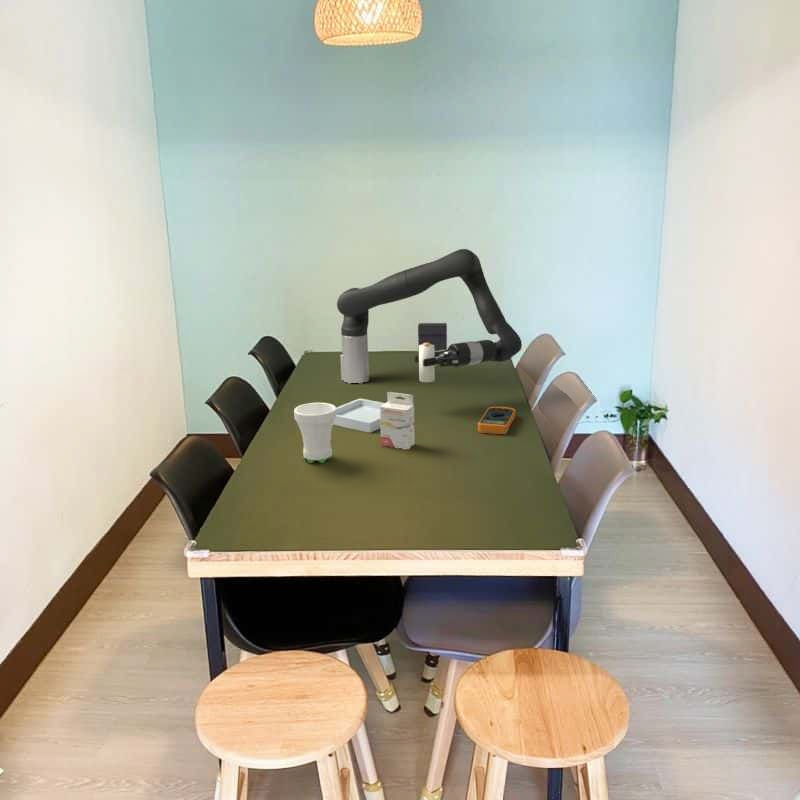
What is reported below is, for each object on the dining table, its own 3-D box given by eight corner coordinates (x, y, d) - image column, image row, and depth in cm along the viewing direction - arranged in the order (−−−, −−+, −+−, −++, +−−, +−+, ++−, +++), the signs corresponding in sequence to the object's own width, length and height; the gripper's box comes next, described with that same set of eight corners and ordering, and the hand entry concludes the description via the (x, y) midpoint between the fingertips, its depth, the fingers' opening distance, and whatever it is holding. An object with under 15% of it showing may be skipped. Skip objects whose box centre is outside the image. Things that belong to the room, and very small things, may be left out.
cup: (305, 469, 205) (302, 417, 201) (291, 456, 214) (287, 406, 210) (345, 461, 210) (343, 410, 206) (329, 448, 219) (326, 400, 215)
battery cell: (416, 380, 246) (415, 343, 242) (424, 377, 250) (424, 340, 246) (429, 383, 243) (428, 345, 240) (437, 379, 247) (437, 342, 243)
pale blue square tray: (323, 422, 241) (323, 413, 240) (360, 407, 255) (359, 398, 254) (369, 432, 231) (369, 423, 230) (405, 416, 245) (405, 407, 244)
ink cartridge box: (380, 446, 220) (378, 395, 216) (387, 440, 225) (386, 391, 220) (408, 450, 217) (407, 399, 212) (415, 444, 221) (414, 394, 217)
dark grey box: (447, 359, 312) (446, 322, 307) (446, 362, 308) (446, 324, 303) (419, 359, 313) (418, 322, 308) (418, 362, 309) (417, 324, 304)
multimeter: (516, 417, 243) (516, 406, 242) (506, 436, 226) (506, 425, 225) (488, 415, 245) (489, 404, 244) (476, 434, 229) (477, 423, 228)
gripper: (453, 338, 256) (407, 344, 248) (478, 346, 244) (431, 354, 236) (453, 360, 258) (407, 367, 250) (478, 370, 246) (431, 378, 238)
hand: (419, 361), depth 243 cm, fingers closed on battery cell, 4 cm apart
